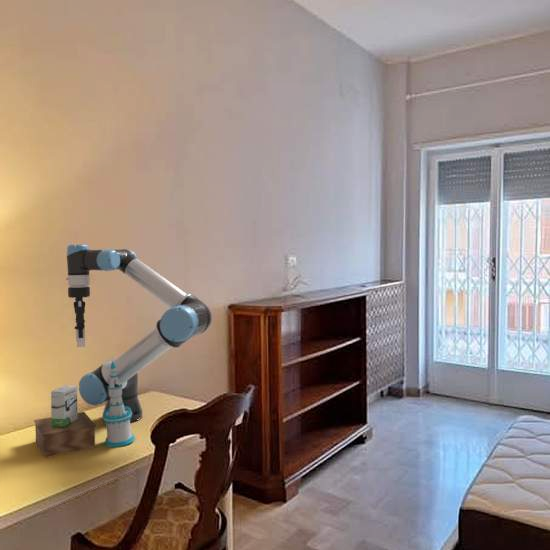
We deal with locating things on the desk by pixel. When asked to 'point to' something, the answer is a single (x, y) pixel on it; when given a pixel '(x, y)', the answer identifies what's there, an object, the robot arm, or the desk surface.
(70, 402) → the ink box
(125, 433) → the model tower
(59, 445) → the walnut block
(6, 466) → the desk surface
